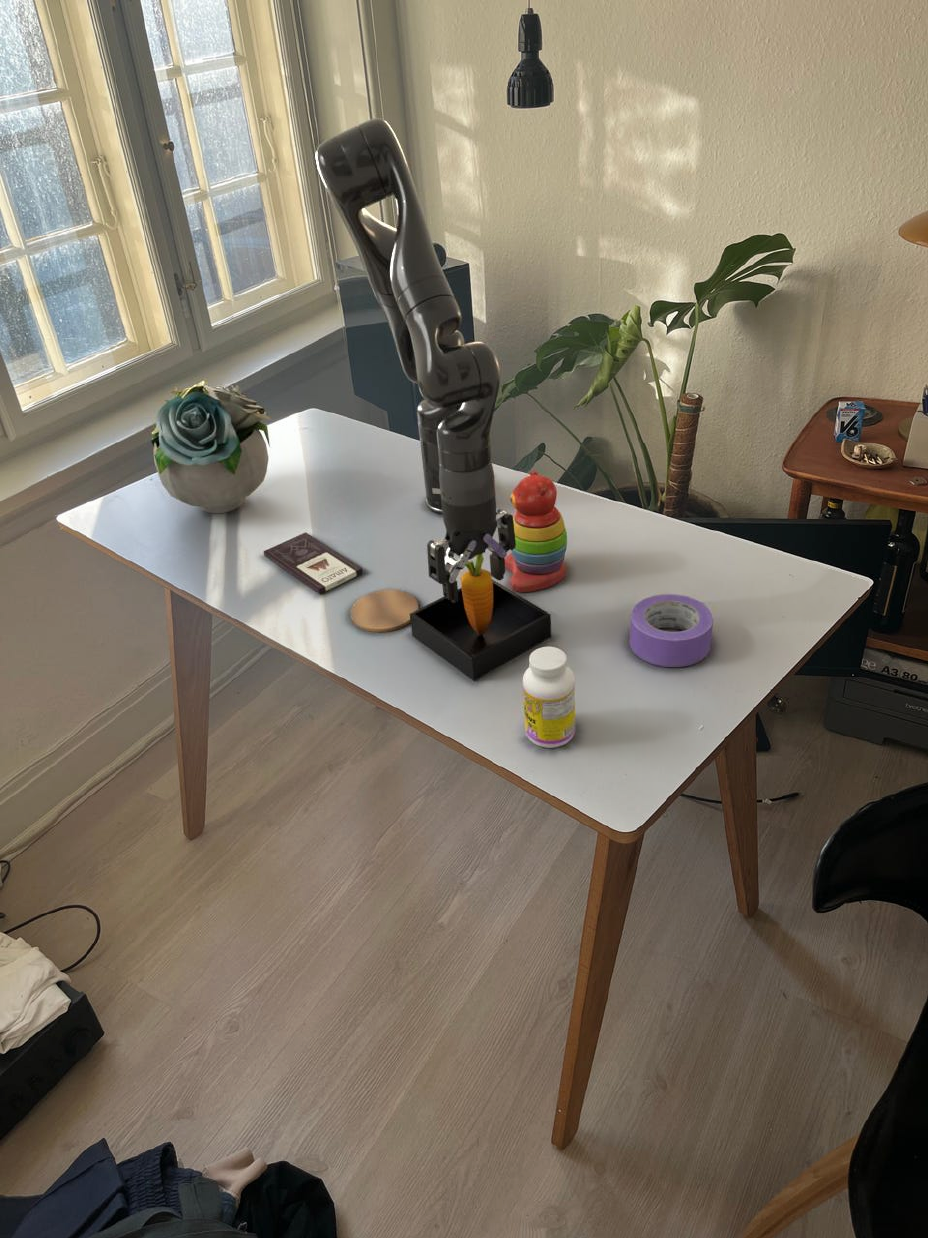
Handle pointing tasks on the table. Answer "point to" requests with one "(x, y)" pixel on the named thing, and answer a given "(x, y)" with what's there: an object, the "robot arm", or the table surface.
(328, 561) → the chocolate bar
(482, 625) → the carrot
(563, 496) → the table surface
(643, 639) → the tape roll
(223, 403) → the flower arrangement
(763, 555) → the table surface
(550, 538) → the stacking bear
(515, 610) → the tray
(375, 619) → the disc
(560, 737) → the supplement bottle
